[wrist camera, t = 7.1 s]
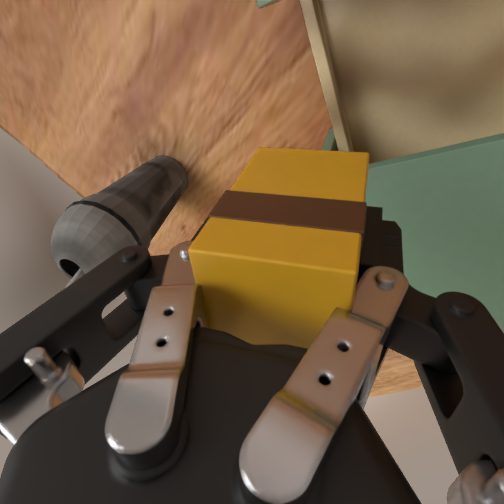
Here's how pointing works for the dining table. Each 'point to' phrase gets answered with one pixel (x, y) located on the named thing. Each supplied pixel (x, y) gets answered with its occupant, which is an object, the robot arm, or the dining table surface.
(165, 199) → the beverage cup
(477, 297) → the cabinet
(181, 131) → the dining table surface
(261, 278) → the snack box
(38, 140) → the dining table surface
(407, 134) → the drawer
